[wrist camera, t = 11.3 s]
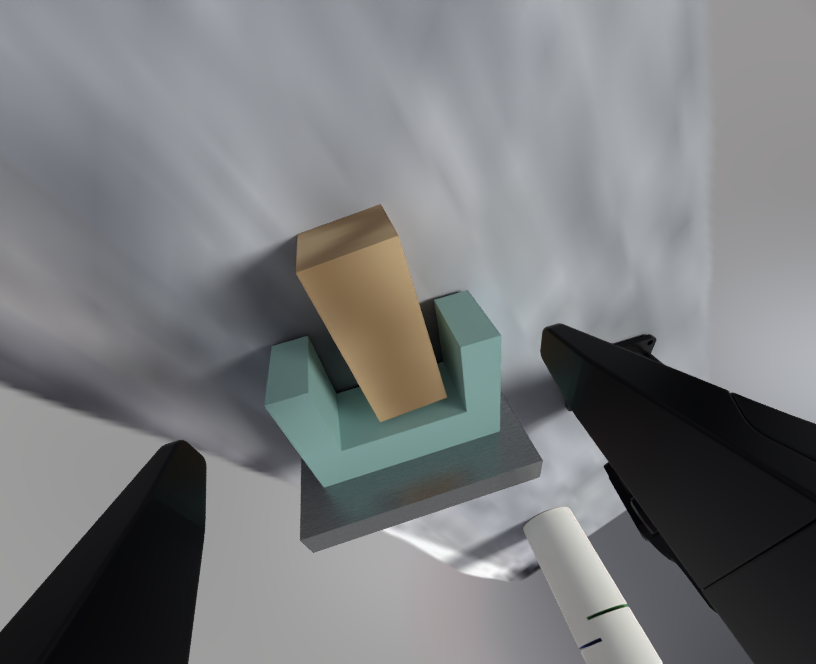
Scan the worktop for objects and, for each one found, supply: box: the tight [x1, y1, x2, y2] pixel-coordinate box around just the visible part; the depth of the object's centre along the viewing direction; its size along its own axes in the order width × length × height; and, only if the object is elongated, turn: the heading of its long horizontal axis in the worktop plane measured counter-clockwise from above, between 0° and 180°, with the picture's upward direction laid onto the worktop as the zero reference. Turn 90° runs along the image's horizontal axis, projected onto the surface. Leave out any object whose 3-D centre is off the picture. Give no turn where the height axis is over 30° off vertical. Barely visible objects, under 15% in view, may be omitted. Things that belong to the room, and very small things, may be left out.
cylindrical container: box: [523, 507, 663, 664], centre depth 37 cm, size 7×7×25 cm
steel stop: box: [300, 391, 543, 553], centre depth 22 cm, size 14×4×7 cm, turn 99°
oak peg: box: [296, 204, 447, 422], centre depth 17 cm, size 4×10×4 cm, turn 14°
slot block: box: [264, 290, 501, 487], centre depth 19 cm, size 11×8×4 cm
